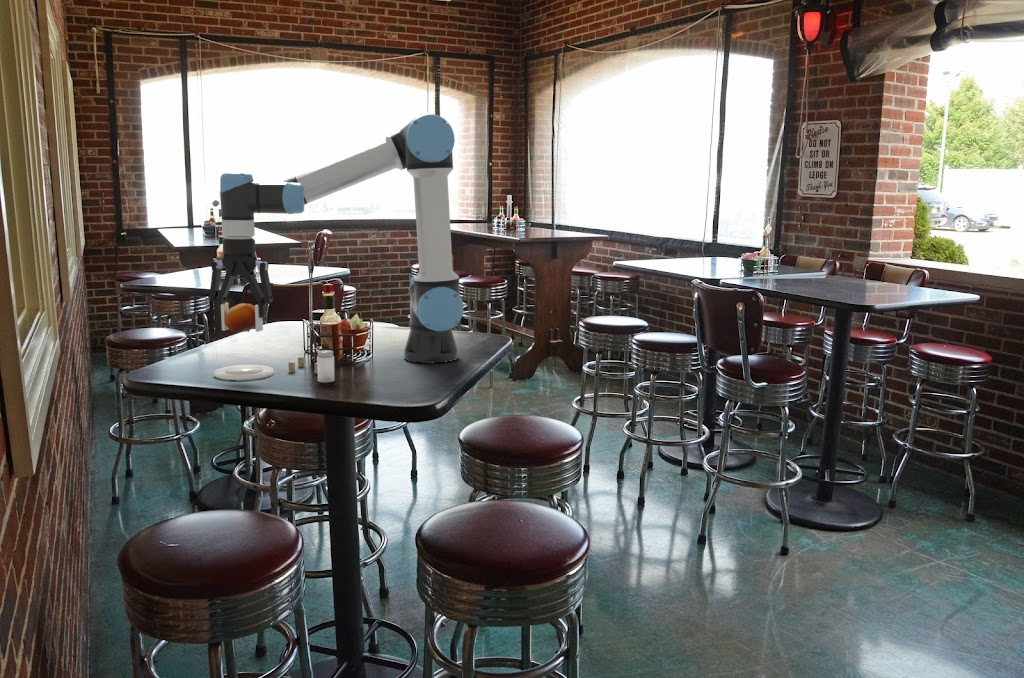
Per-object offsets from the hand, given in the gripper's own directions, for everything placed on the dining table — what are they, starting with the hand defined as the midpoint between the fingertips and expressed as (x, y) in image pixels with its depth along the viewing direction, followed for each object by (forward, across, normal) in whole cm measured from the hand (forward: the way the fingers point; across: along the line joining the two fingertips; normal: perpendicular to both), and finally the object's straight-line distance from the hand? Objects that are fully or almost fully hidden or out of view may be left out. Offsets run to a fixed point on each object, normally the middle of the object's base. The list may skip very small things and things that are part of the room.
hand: (242, 330), depth 201 cm
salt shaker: (+11, -22, +3) cm, 25 cm away
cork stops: (+11, -14, -8) cm, 20 cm away
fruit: (0, 0, 0) cm, 0 cm away
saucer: (+11, 0, 0) cm, 11 cm away
